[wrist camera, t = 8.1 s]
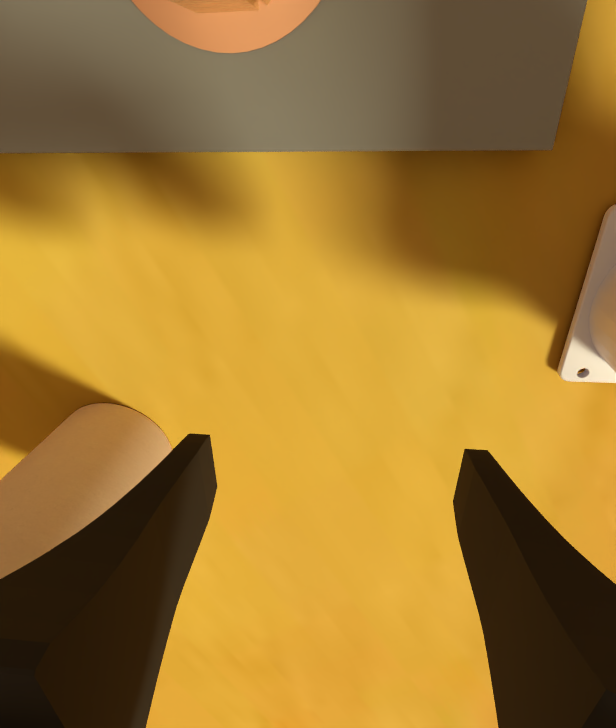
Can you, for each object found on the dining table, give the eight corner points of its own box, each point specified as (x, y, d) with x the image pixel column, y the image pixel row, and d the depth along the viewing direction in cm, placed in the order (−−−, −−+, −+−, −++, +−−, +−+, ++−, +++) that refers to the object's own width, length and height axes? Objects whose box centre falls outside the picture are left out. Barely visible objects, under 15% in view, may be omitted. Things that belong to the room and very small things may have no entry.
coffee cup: (127, 524, 31) (-36, 839, 18) (5, 430, 27) (-305, 734, 14) (232, 465, 27) (122, 804, 14) (107, 348, 24) (-186, 655, 11)
